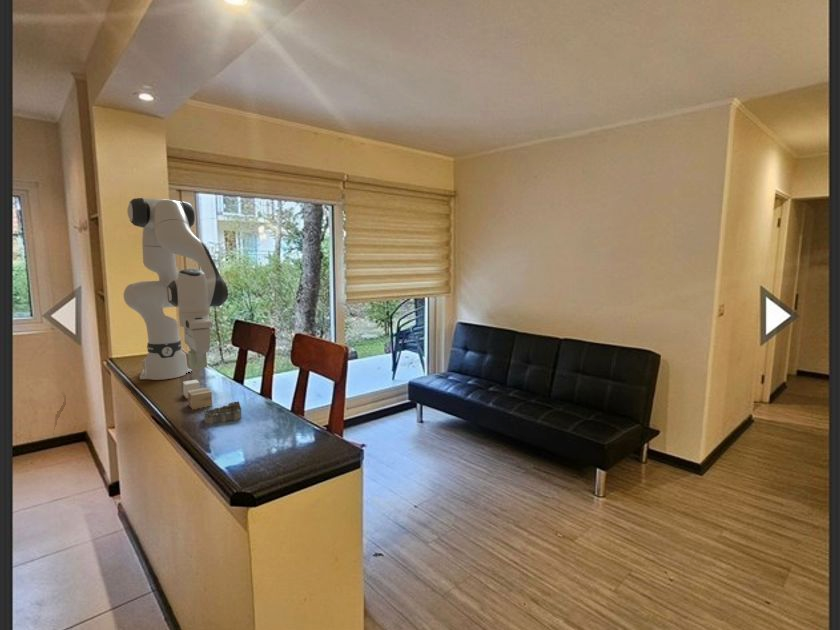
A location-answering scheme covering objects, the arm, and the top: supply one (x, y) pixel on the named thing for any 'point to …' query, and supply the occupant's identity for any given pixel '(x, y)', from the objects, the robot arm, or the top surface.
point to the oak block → (199, 398)
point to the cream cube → (190, 386)
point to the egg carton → (223, 413)
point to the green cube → (193, 360)
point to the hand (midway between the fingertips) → (197, 361)
